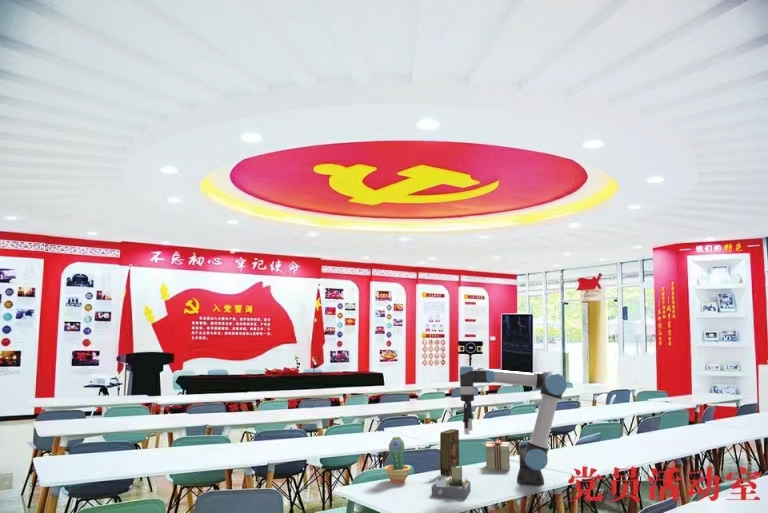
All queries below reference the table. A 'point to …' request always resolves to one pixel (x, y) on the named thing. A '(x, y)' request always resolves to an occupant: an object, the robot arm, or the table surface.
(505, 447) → the gift box
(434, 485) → the grey shallow box
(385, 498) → the table surface
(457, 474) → the spout can
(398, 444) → the potted cactus
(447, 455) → the book
